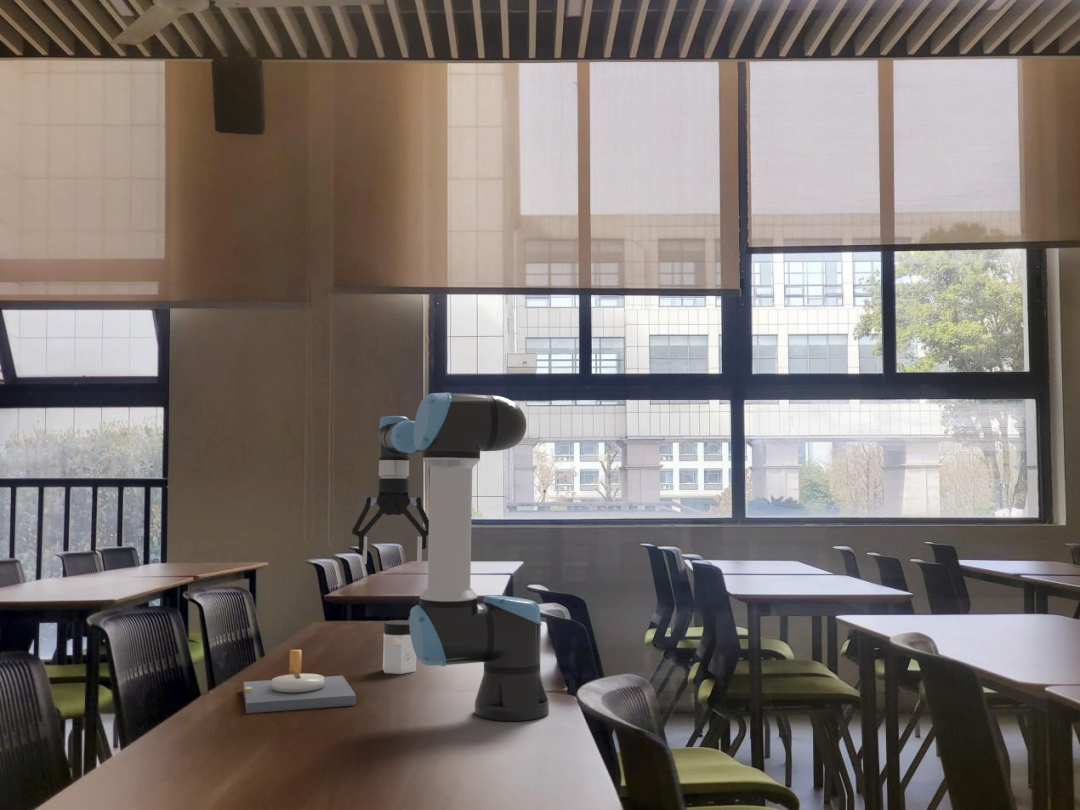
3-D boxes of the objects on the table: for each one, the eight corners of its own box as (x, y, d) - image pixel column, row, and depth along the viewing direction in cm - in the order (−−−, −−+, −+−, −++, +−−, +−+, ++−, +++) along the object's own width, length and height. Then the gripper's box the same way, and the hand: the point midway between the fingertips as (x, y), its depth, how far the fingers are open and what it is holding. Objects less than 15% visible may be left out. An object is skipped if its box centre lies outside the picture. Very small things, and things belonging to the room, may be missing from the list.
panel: (356, 705, 192) (356, 691, 192) (246, 713, 184) (246, 699, 185) (342, 684, 212) (342, 672, 213) (243, 690, 205) (243, 678, 205)
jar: (393, 675, 223) (394, 625, 224) (375, 670, 229) (376, 622, 230) (423, 670, 229) (424, 622, 230) (404, 666, 235) (405, 618, 236)
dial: (326, 690, 195) (327, 659, 196) (273, 694, 192) (274, 662, 192) (319, 677, 209) (320, 648, 210) (269, 680, 205) (270, 650, 206)
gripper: (440, 478, 236) (439, 561, 234) (342, 477, 229) (340, 563, 227) (445, 477, 229) (444, 563, 227) (344, 477, 222) (342, 565, 220)
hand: (392, 563), depth 227 cm, fingers open, 13 cm apart
